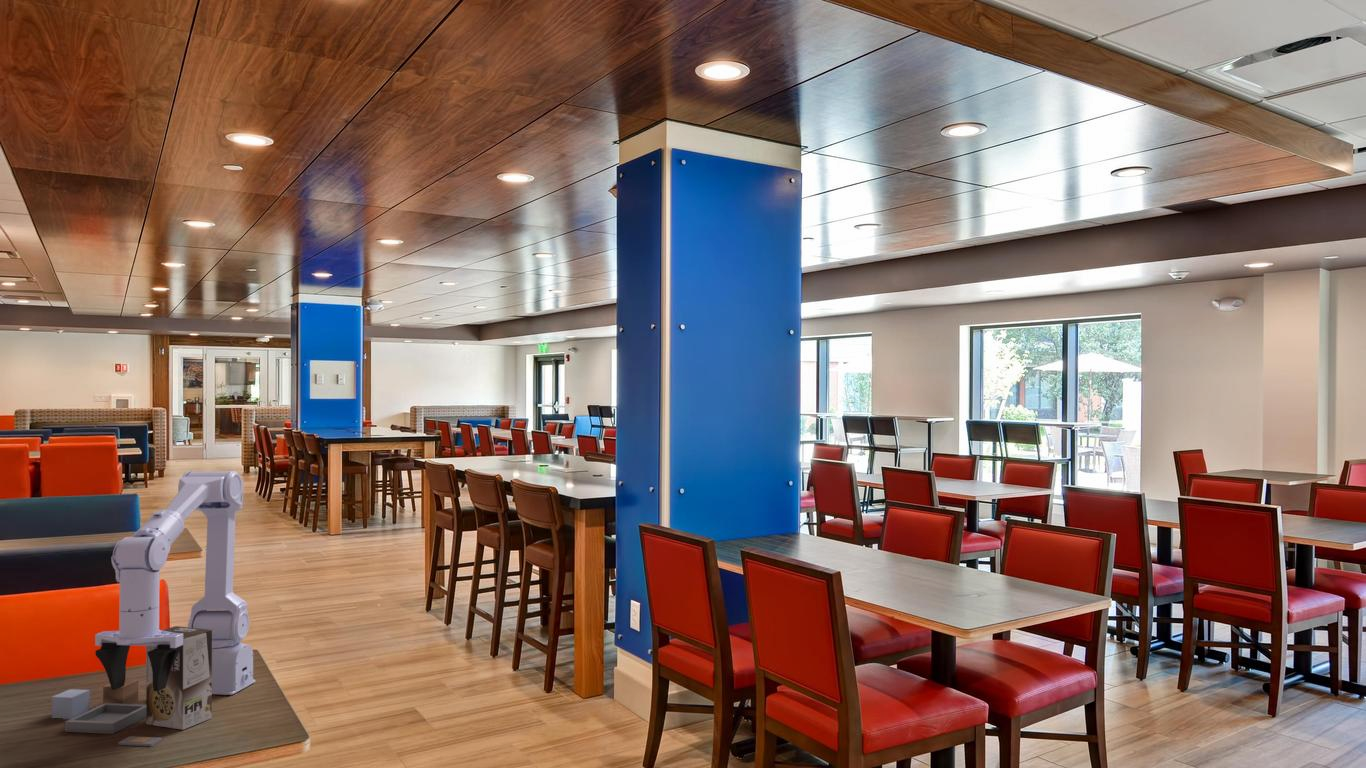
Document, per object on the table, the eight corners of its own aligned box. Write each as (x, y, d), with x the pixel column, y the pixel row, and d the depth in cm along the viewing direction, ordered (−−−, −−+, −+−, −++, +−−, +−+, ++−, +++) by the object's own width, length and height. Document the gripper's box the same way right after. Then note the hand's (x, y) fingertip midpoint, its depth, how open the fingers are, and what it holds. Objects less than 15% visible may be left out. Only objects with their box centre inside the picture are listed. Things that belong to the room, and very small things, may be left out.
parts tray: (150, 714, 157) (150, 704, 157) (112, 733, 148) (113, 723, 148) (104, 712, 158) (105, 703, 158) (65, 731, 149) (65, 721, 149)
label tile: (162, 740, 145) (162, 737, 145) (151, 746, 143) (151, 743, 143) (129, 738, 146) (129, 735, 146) (118, 744, 143) (118, 741, 143)
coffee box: (213, 718, 155) (214, 629, 155) (182, 731, 149) (183, 638, 149) (176, 711, 158) (176, 624, 158) (143, 724, 152) (144, 634, 152)
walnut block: (138, 701, 164) (138, 680, 164) (122, 708, 160) (122, 687, 160) (118, 700, 164) (119, 679, 164) (102, 707, 160) (103, 686, 160)
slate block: (89, 711, 159) (89, 690, 159) (72, 719, 155) (72, 697, 155) (69, 710, 159) (69, 689, 159) (51, 718, 155) (51, 696, 155)
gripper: (80, 612, 141) (80, 695, 140) (163, 615, 139) (162, 698, 139) (113, 602, 148) (112, 681, 148) (191, 604, 146) (191, 683, 146)
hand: (138, 688), depth 144 cm, fingers open, 7 cm apart
